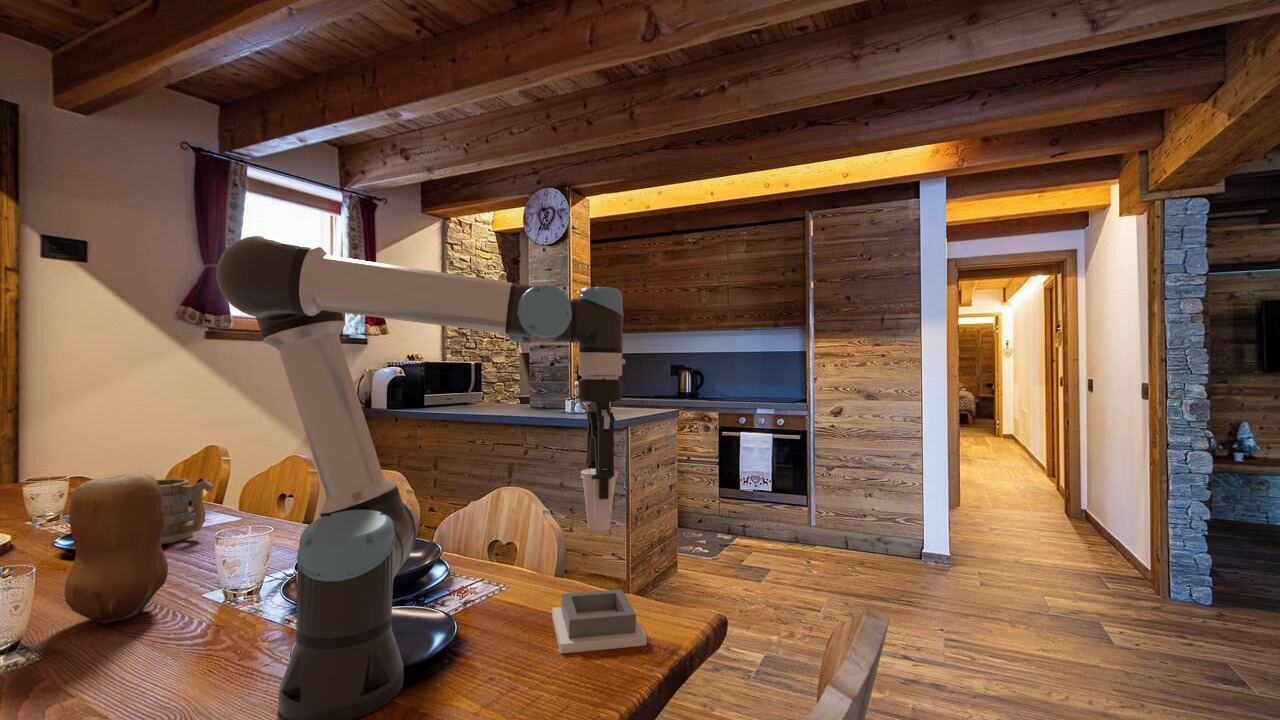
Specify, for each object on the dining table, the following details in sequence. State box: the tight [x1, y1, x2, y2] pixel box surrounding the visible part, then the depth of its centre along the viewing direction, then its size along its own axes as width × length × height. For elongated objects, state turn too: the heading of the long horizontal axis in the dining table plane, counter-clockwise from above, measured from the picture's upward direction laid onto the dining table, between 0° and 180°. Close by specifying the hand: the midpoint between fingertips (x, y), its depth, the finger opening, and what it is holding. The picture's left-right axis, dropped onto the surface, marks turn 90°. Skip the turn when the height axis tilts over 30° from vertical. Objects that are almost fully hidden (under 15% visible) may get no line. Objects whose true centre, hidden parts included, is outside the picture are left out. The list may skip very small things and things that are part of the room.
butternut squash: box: [64, 471, 169, 625], centre depth 100 cm, size 14×13×25 cm
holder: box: [551, 588, 648, 655], centre depth 99 cm, size 14×14×4 cm
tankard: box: [156, 478, 215, 545], centre depth 145 cm, size 20×13×15 cm, turn 80°
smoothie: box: [580, 468, 619, 531], centre depth 99 cm, size 6×6×14 cm
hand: (598, 512), depth 99 cm, fingers closed on smoothie, 6 cm apart
